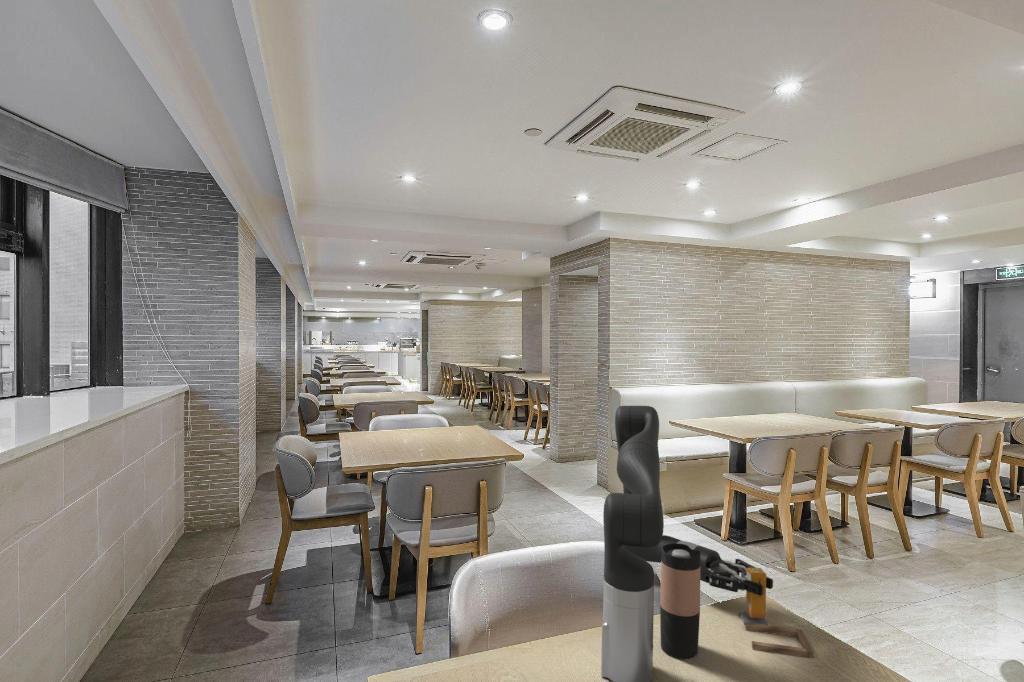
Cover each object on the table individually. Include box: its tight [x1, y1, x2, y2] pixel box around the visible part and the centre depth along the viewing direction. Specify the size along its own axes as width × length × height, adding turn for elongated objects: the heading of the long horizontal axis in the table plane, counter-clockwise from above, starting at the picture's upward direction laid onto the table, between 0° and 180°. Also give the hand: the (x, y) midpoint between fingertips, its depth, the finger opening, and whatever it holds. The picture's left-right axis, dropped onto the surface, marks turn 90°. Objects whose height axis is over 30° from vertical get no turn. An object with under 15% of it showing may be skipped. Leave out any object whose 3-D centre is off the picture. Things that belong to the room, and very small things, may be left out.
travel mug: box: [659, 543, 701, 660], centre depth 108 cm, size 8×8×20 cm
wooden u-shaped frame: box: [744, 622, 815, 659], centre depth 111 cm, size 11×8×1 cm
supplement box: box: [745, 567, 767, 619], centre depth 118 cm, size 3×3×10 cm
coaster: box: [739, 610, 770, 626], centre depth 119 cm, size 5×5×1 cm
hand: (767, 587), depth 117 cm, fingers closed on supplement box, 4 cm apart
